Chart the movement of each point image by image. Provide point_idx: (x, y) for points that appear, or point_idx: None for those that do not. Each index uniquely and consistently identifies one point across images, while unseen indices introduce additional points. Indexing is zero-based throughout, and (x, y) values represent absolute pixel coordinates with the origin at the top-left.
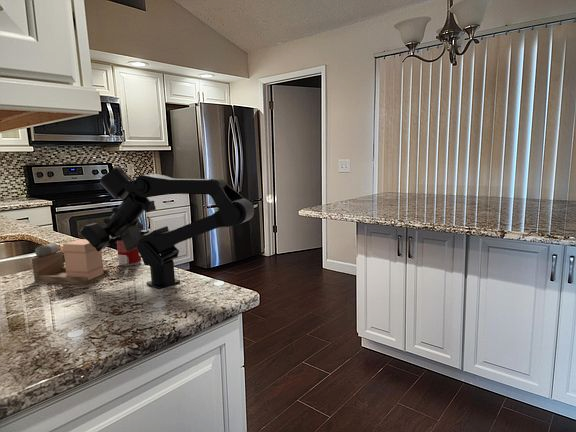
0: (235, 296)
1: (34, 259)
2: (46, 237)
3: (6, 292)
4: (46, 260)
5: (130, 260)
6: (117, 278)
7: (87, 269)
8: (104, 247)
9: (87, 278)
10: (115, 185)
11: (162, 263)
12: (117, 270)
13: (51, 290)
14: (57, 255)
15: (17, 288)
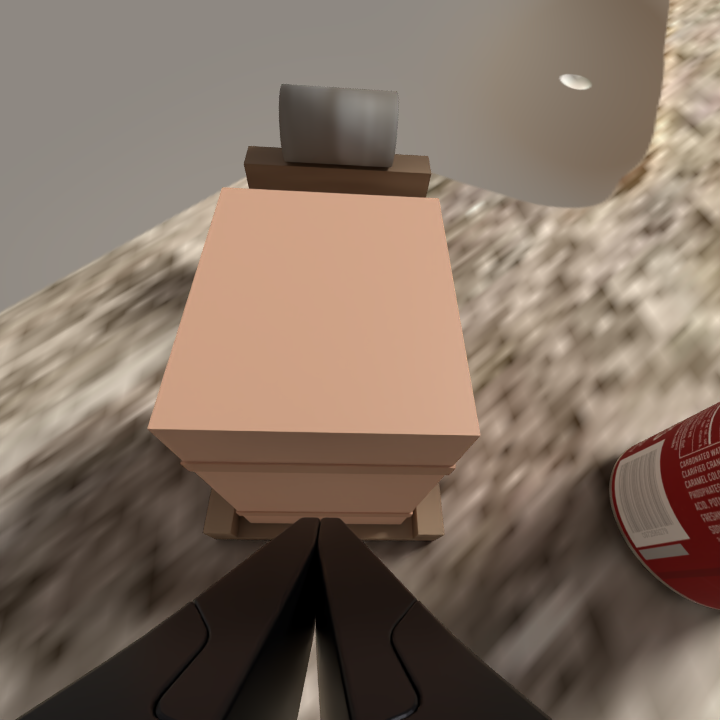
0: None
1: (247, 158)
2: (689, 17)
3: (134, 243)
4: (311, 191)
5: (676, 570)
6: None
7: (238, 506)
8: (318, 671)
9: (222, 534)
10: None
11: None
12: (531, 527)
13: (135, 398)
14: (389, 187)
15: (183, 246)
